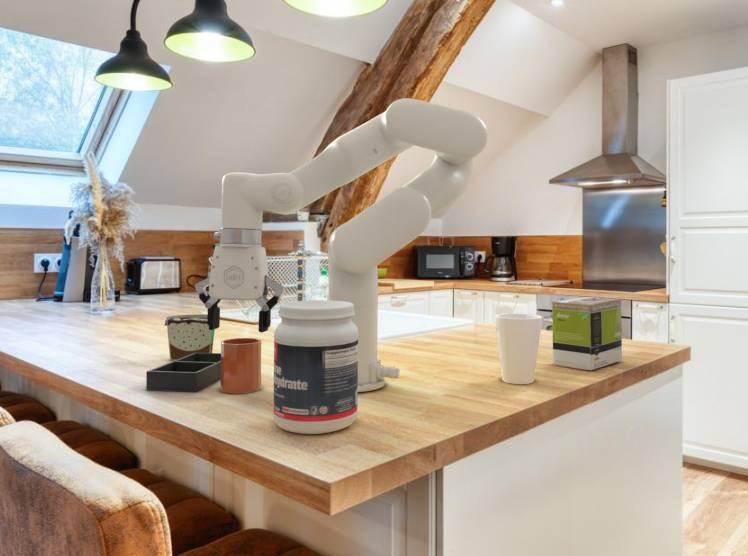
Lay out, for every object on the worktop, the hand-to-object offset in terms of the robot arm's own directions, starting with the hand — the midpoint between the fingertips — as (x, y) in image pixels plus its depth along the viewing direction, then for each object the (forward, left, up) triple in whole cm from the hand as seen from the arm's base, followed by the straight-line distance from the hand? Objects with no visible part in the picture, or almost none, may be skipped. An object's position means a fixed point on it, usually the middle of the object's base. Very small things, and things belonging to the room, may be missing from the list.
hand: (238, 330), depth 115 cm
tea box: (-69, -35, -11) cm, 78 cm away
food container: (+21, -26, -11) cm, 36 cm away
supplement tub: (-21, +19, -11) cm, 30 cm away
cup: (-1, 0, -11) cm, 11 cm away
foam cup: (-53, -15, -11) cm, 56 cm away
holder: (+11, -6, -11) cm, 17 cm away
